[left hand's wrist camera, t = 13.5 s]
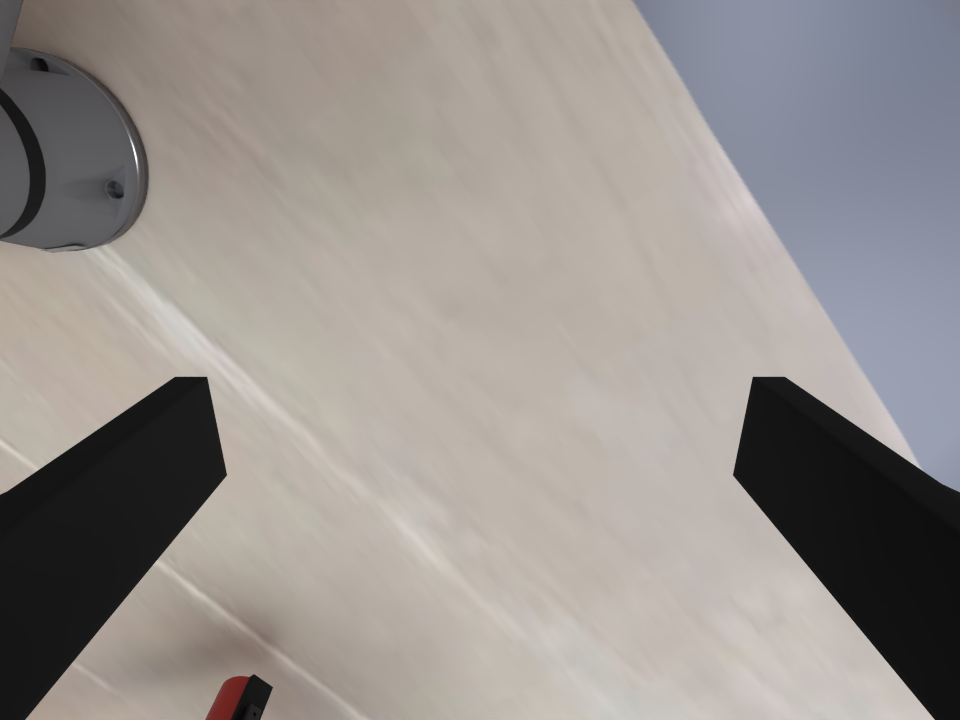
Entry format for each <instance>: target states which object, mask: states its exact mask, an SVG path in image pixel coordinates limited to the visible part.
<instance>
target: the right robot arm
mask: <svg viewBox="0 0 960 720" xmlns="http://www.w3.org/2000/svg"><path fill="white" fill-rule="evenodd" d="M272 688H273V687H272V686H270V685H269V684H267V683H266V682H265V681H263V680H262V679H260V678H259V677H257V676H256V675H255V674H254V675H252V676H251V677H250V678H249V680H248V682H247V684H246V686H245V689H244V691H243V693H242V695H241V698H240V700H239V702H238V704H237V706H236V709H235V711H234V713H233V715H232V718H231V720H260V719H261V716H262V714H263V711H264V709H265V706H266V704H267V701H268V699H269V696H270V693H271V691H272Z"/></svg>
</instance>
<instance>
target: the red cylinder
mask: <svg viewBox="0 0 960 720" xmlns="http://www.w3.org/2000/svg"><path fill="white" fill-rule="evenodd" d="M249 678H250V677H244V676H237V677H233V678H230V679H228V680H227V681H225V682H224V684H223V685H222V687H221V689H220V691H219V693H218V695H217V697H216V699H215V701H214V703H213V705H212V707H211V709H210V711H209V713H208V715H207V717H206V719H205V720H231V718H232V715H233V713H234V711H235V709H236V706H237V704H238V702H239V700H240V698H241V695H242V693H243V691H244V689H245V686H246V684H247V682H248V680H249Z"/></svg>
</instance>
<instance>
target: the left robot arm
mask: <svg viewBox="0 0 960 720" xmlns="http://www.w3.org/2000/svg"><path fill="white" fill-rule="evenodd" d="M22 4H23V0H0V241H4V242H9V243H14V244H19V245H24V246H29V247H35V248H39V249H45V250H41V251H47V252H53V253H54V252H62V251H78V250H85V249H90V248H94V247H98V246H102V245H105V244H108V243H110V242H112V241H114V240H116V239H117V238H119V237H120V236H122V235H123V234H124V233H125V232H126V231H127V230H129V229H130V227H131V226H132V225H133V224H134V222H135V221H136V219H137V218H138V216H139V214H140V212H141V210H142V208H143V205H144V202H145V198H146V194H147V187H148V168H147V161H146V156H145V152H144V148H143V145H142V142H141V139H140V136H139V134H138V132H137V129H136V127H135V125H134V124H133V122H132V120H131V118H130V116H129V115H128V113H127V112H126V110H125V109H124V107H123V106H122V105H121V103H120V102H119V101H118V99H117V98H116V97H115V96H114V95H113V94H112V93H111V92H110V91H109V90H108V89H107V88H106V87H105V86H104V85H103V84H102V83H101V82H100V81H99V80H97V79H96V78H95V77H94V76H92V75H91V74H90V73H88V72H87V71H85V70H84V69H82V68H80V67H79V66H77V65H75V64H73V63H71V62H69V61H67V60H65V59H62V58H59V57H57V56H53V55H50V54H46V53H42V52H38V51H35V50H30V49H24V48H11V44H12V40H13V36H14V33H15V29H16V25H17V22H18V18H19V15H20V11H21V7H22ZM226 476H227V473H226V468H225V463H224V458H223V453H222V448H221V443H220V438H219V433H218V428H217V423H216V419H215V414H214V409H213V404H212V399H211V394H210V389H209V384H208V379H207V377H174V378H173V379H171V380H170V381H168V382H167V383H166V384H164V385H163V386H161V387H160V388H158V389H157V390H155V391H154V392H152V393H151V394H149V395H148V396H146V397H145V398H144V399H142V400H141V401H139V402H138V403H136V404H135V405H133V406H132V407H130V408H129V409H127V410H126V411H125V412H123V413H122V414H120V415H119V416H117V417H116V418H114V419H113V420H111V421H110V422H108V423H107V424H105V425H104V426H103V427H101V428H100V429H98V430H97V431H95V432H94V433H92V434H91V435H89V436H88V437H86V438H85V439H84V440H82V441H81V442H79V443H78V444H76V445H75V446H73V447H72V448H70V449H69V450H67V451H66V452H64V453H63V454H62V455H60V456H59V457H57V458H56V459H54V460H53V461H51V462H50V463H48V464H47V465H45V466H44V467H43V468H41V469H40V470H38V471H37V472H35V473H34V474H32V475H31V476H29V477H28V478H26V479H25V480H23V481H22V482H21V483H19V484H18V485H16V486H15V487H13V488H12V489H10V490H9V491H7V492H5V493H3V494H1V495H0V720H25V719H26V718H27V717H28V716H29V714H30V713H31V712H32V711H33V710H34V708H35V707H36V706H37V705H38V703H39V702H40V701H41V700H42V699H43V697H44V696H45V695H46V694H47V693H48V691H49V690H50V689H51V688H52V687H53V685H54V684H55V683H56V682H57V680H58V679H59V678H60V677H61V676H62V674H63V673H64V672H65V671H66V670H67V668H68V667H69V666H70V665H71V663H72V662H73V661H74V660H75V659H76V657H77V656H78V655H79V654H80V653H81V651H82V650H83V649H84V648H85V647H86V645H87V644H88V643H89V642H90V640H91V639H92V638H93V637H94V636H95V634H96V633H97V632H98V631H99V630H100V628H101V627H102V626H103V625H104V624H105V622H106V621H107V620H108V619H109V617H110V616H111V615H112V614H113V613H114V611H115V610H116V609H117V608H118V607H119V605H120V604H121V603H122V602H123V601H124V599H125V598H126V597H127V596H128V594H129V593H130V592H131V591H132V590H133V588H134V587H135V586H136V585H137V584H138V582H139V581H140V580H141V579H142V578H143V576H144V575H145V574H146V573H147V571H148V570H149V569H150V568H151V567H152V565H153V564H154V563H155V562H156V561H157V559H158V558H159V557H160V556H161V554H162V553H163V552H164V551H165V550H166V548H167V547H168V546H169V545H170V544H171V542H172V541H173V540H174V539H175V538H176V536H177V535H178V534H179V533H180V531H181V530H182V529H183V528H184V527H185V525H186V524H187V523H188V522H189V521H190V519H191V518H192V517H193V516H194V515H195V513H196V512H197V511H198V510H199V508H200V507H201V506H202V505H203V504H204V502H205V501H206V500H207V499H208V498H209V496H210V495H211V494H212V493H213V492H214V490H215V489H216V488H217V487H218V485H219V484H220V483H221V482H222V481H223V479H224V478H225V477H226ZM733 476H734V477H735V478H736V479H737V481H738V482H739V483H740V484H741V485H742V487H743V488H744V489H745V490H746V492H747V493H748V494H749V495H750V496H751V498H752V499H753V500H754V501H755V502H756V504H757V505H758V506H759V507H760V508H761V510H762V511H763V512H764V513H765V515H766V516H767V517H768V518H769V519H770V521H771V522H772V523H773V524H774V525H775V527H776V528H777V529H778V530H779V531H780V533H781V534H782V535H783V536H784V538H785V539H786V540H787V541H788V542H789V544H790V545H791V546H792V547H793V548H794V550H795V551H796V552H797V553H798V555H799V556H800V557H801V558H802V559H803V561H804V562H805V563H806V564H807V565H808V567H809V568H810V569H811V570H812V571H813V573H814V574H815V575H816V576H817V578H818V579H819V580H820V581H821V582H822V584H823V585H824V586H825V587H826V588H827V590H828V591H829V592H830V593H831V594H832V596H833V597H834V598H835V599H836V601H837V602H838V603H839V604H840V605H841V607H842V608H843V609H844V610H845V611H846V613H847V614H848V615H849V616H850V617H851V619H852V620H853V621H854V622H855V624H856V625H857V626H858V627H859V628H860V630H861V631H862V632H863V633H864V634H865V636H866V637H867V638H868V639H869V640H870V642H871V643H872V644H873V645H874V647H875V648H876V649H877V650H878V651H879V653H880V654H881V655H882V656H883V657H884V659H885V660H886V661H887V662H888V663H889V665H890V666H891V667H892V668H893V670H894V671H895V672H896V673H897V674H898V676H899V677H900V678H901V679H902V680H903V682H904V683H905V684H906V685H907V687H908V688H909V689H910V690H911V691H912V693H913V694H914V695H915V696H916V697H917V699H918V700H919V701H920V702H921V703H922V705H923V706H924V707H925V708H926V710H927V711H928V712H929V713H930V714H931V716H932V717H933V718H934V719H935V720H960V492H958V491H955V490H953V489H951V488H949V487H947V486H945V485H943V484H941V483H939V482H938V481H937V480H935V479H934V478H932V477H931V476H929V475H928V474H926V473H925V472H923V471H922V470H920V469H919V468H917V467H916V466H915V465H913V464H912V463H910V462H909V461H907V460H906V459H904V458H903V457H901V456H900V455H898V454H897V453H896V452H894V451H893V450H891V449H890V448H888V447H887V446H885V445H884V444H882V443H881V442H879V441H878V440H876V439H875V438H874V437H872V436H871V435H869V434H868V433H866V432H865V431H863V430H862V429H860V428H859V427H857V426H856V425H855V424H853V423H852V422H850V421H849V420H847V419H846V418H844V417H843V416H841V415H840V414H838V413H837V412H835V411H834V410H833V409H831V408H830V407H828V406H827V405H825V404H824V403H822V402H821V401H819V400H818V399H816V398H815V397H814V396H812V395H811V394H809V393H808V392H806V391H805V390H803V389H802V388H800V387H799V386H797V385H796V384H794V383H793V382H792V381H790V380H789V379H787V378H786V377H753V379H752V384H751V389H750V394H749V399H748V404H747V409H746V414H745V419H744V423H743V428H742V433H741V438H740V443H739V448H738V453H737V458H736V463H735V468H734V473H733Z"/></svg>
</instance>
